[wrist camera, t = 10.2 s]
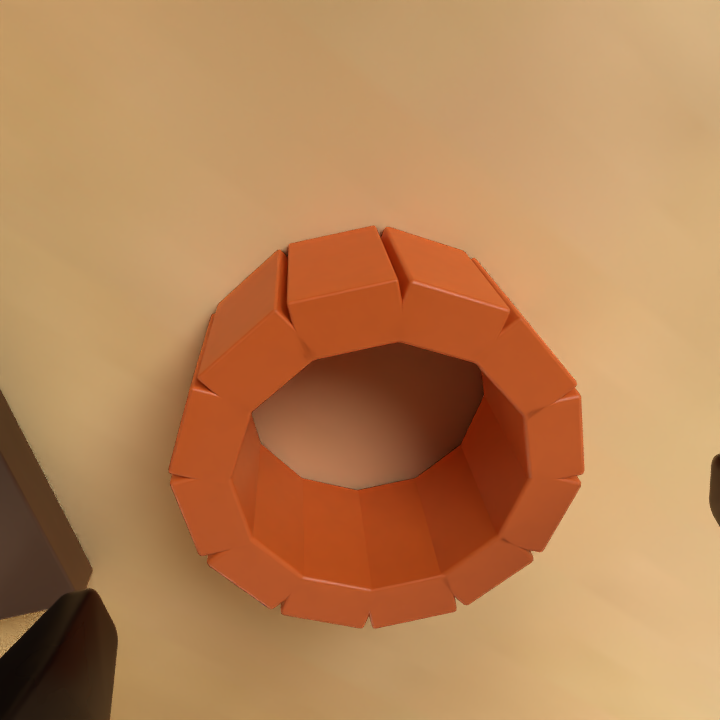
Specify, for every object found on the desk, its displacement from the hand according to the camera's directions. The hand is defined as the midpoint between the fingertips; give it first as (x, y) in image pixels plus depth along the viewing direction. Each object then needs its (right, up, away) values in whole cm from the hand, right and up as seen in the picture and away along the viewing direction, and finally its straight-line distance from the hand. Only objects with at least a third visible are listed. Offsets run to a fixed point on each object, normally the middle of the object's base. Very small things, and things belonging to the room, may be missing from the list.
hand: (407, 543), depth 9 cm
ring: (-1, +2, +4) cm, 5 cm away
